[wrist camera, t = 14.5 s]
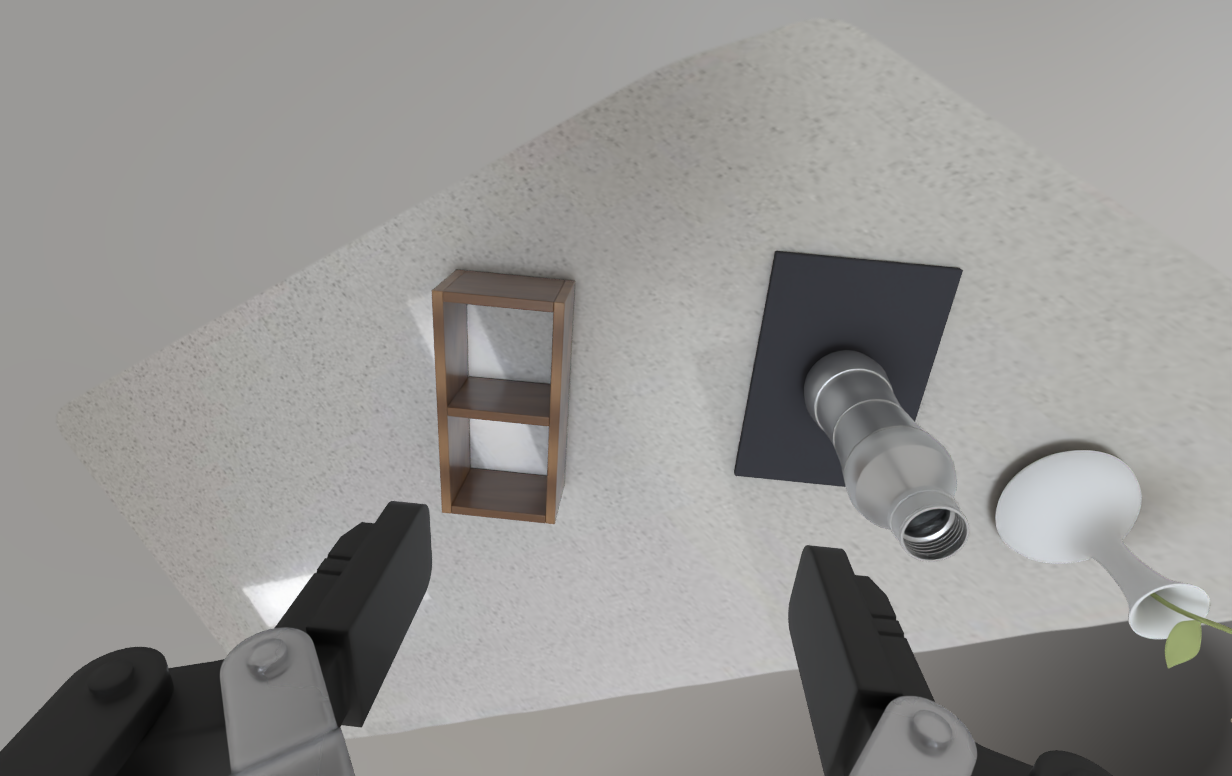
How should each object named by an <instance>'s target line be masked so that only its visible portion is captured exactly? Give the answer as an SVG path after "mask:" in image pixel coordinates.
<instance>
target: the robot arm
mask: <svg viewBox="0 0 1232 776" xmlns="http://www.w3.org/2000/svg"><path fill="white" fill-rule="evenodd" d="M431 570H432V550H431V533H430V515H429V508H428V506H427V505H426V504H417V503H407V502H397V501H391V502H389V503H388V504H387V506H386V507H385V509H384V510H383V512H382V513H381V515H380V516H379V518H378V519H377V521H376V522H375V523H365V522H361V523H360V524H359V525H357V526H356V527H354V528H353V529H351V530H350V531H348V532H347V533H346V534H344V535H343V536H341V537H340V539H339V540H338V541H337V543H336V544H335V545H334V547H333V548H332V550H331V551H330V552H329V554H328V557H327V558H325V559H324V561H323V562H322V563H321V565H320V566H319V568H318V569H317V573H314V574H313V576H312V577H311V579H310V580H309V581H308V583H307V584H306V585H305V587H304V588H303V590H302V591H301V592H300V594H299V595H298V596H297V598H296V599H295V601H294V602H293V603H292V605H291V606H290V607H289V609H288V610H287V612H286V613H285V614H284V616H283V617H282V618H281V620H280V621H279V623H278V624H277V625H276V627H275V628H274V629H269V630H266V631H262V632H260V633H257V634H255V635H253V636H251V637H249V638H247V639H245V640H244V641H242V642H241V643H240V644H238V645H237V646H236V647H235V648H234V649H233V650H232V651H231V652H230V653H229V654H228V655H227V657H226V658H225V659H223V660H218V661H214V662H207V663H200V664H194V665H187V666H181V667H174V668H168V665H167V662H166V660H165V657H164V656H163V654H162V653H160V652H159V651H157V650H155V649H152V648H147V647H131V648H125V649H121V650H117V651H114V652H111V653H108V654H106V655H103V656H101V657H99V658H97V659H95V660H93V661H91V662H90V663H88V664H87V665H85V666H84V667H82V668H81V669H80V670H78V671H77V672H76V673H74V674H73V675H72V676H71V677H70V678H69V679H68V680H67V681H66V682H65V683H64V684H63V685H62V686H61V687H60V689H59V690H58V691H57V692H56V693H55V694H54V695H53V696H52V697H51V698H50V699H49V700H48V701H47V702H46V703H45V705H44V706H43V707H42V708H41V709H40V710H39V711H38V712H37V713H36V714H35V715H34V716H33V717H32V718H31V719H30V721H29V722H28V723H27V724H26V725H25V726H24V727H23V728H22V729H21V730H20V731H19V732H18V733H17V734H16V735H15V737H14V738H13V739H12V740H11V741H10V742H9V743H8V744H7V745H6V746H5V747H4V748H3V749H2V750H1V751H0V776H355V774H354V770H353V767H352V763H351V760H350V757H349V753H348V750H347V746H346V743H345V739H344V736H343V733H342V730H341V728H340V727H341V725H346V726H354V727H362V726H363V724H364V721H365V719H366V717H367V715H368V713H369V711H370V709H371V707H372V705H373V702H374V700H375V698H376V696H377V694H378V692H379V690H380V688H381V686H382V683H383V681H384V679H385V677H386V675H387V673H388V671H389V669H390V667H391V664H392V662H393V660H394V658H395V656H396V654H397V652H398V650H399V648H400V645H401V643H402V641H403V639H404V637H405V635H406V633H407V631H408V629H409V626H410V624H411V622H412V620H413V618H414V616H415V614H416V612H417V610H418V607H419V605H420V603H421V601H422V599H423V597H424V595H425V593H426V590H427V588H428V584H429V581H430V576H431ZM788 621H789V630H790V635H791V639H792V643H793V647H794V651H795V656H796V660H797V664H798V668H799V672H800V676H801V680H802V684H803V688H804V692H805V697H806V701H807V705H808V709H809V713H810V717H811V722H812V726H813V730H814V734H815V738H816V742H817V746H818V751H819V755H820V759H821V763H822V767H823V771H824V775H825V776H1112V775H1111V774H1110V773H1109V772H1107V771H1106V770H1104V769H1103V768H1102V767H1100V766H1099V765H1097V764H1095V763H1093V762H1092V761H1090V760H1088V759H1086V758H1084V757H1082V756H1079V755H1076V754H1073V753H1070V752H1065V751H1057V750H1056V751H1048V752H1045V753H1043V754H1042V755H1040V756H1039V758H1038V759H1037V761H1036V763H1035V764H1034V766H1031V765H1028V764H1026V763H1023V762H1021V761H1018V760H1015V759H1013V758H1010V757H1008V756H1005V755H1003V754H1000V753H998V752H995V751H992V750H990V749H987V748H985V747H983V746H981V745H979V744H977V743H976V742H975V741H974V739H973V737H972V735H971V733H970V732H969V730H968V729H967V727H966V726H965V725H964V724H963V723H962V722H961V721H960V720H959V719H958V718H957V717H956V716H955V715H954V714H953V713H952V712H950V711H949V710H947V709H946V708H944V707H943V706H941V705H939V704H937V703H936V702H935V701H934V699H933V696H932V694H931V692H930V690H929V688H928V685H927V683H926V681H925V679H924V677H923V674H922V672H921V670H920V668H919V665H918V663H917V661H916V659H915V657H914V654H913V652H912V650H911V648H910V646H909V643H908V641H907V639H906V638H904V632H903V630H902V628H901V626H900V624H899V621H896V615H895V613H894V610H893V608H892V606H891V604H890V602H889V599H888V597H887V595H886V594H885V593H884V592H883V591H882V590H881V589H880V588H879V587H878V586H877V585H876V584H875V583H874V582H873V581H872V580H871V579H870V578H869V577H868V576H858V575H855V574H854V572H853V569H852V567H851V564H850V562H849V560H848V557H847V555H846V553H845V551H844V550H843V549H838V548H829V547H819V546H810V545H807V546H805V547H804V549H803V551H802V555H801V559H800V563H799V567H798V570H797V574H796V578H795V582H794V586H793V590H792V594H791V598H790V602H789V612H788Z"/></svg>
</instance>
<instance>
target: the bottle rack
mask: <svg viewBox="0 0 1232 776" xmlns="http://www.w3.org/2000/svg"><path fill="white" fill-rule="evenodd" d="M574 294H575V281H570V280H560V279H550V278H539V277H529V276H518V275H507V274H497V273H486V272H476V271H465V270H455V271H454V272H453V273H452V274H451V275H449V276H448V277H447V278H446V279H445V280H444V281H442V282H441V283H440V284H439V285H438V286H436V287H435V288H434V289H433V290H432V307H433V329H434V350H435V371H436V393H437V414H438V435H439V457H440V478H441V500H442V513H452V514H462V515H471V516H481V517H491V518H500V519H510V520H519V521H529V522H538V523H545V522H546V523H548V524H555V521H556V517H557V513H558V509H559V505H560V501H561V497H562V492H563V488H564V484H565V465H566V446H567V427H568V408H569V389H570V370H571V351H572V332H573V313H574ZM467 304H471V305H482V306H492V307H503V308H513V309H524V310H534V311H544V312H554V314H553V340H552V366H551V385H549V384H539V383H529V382H519V381H509V380H498V379H488V378H478V377H468V346H467ZM469 418H472V419H482V420H492V421H502V422H512V423H521V424H531V425H541V426H549V444H548V470H547V476H542V475H533V474H523V473H513V472H503V471H494V470H484V469H474V468H470V434H469Z"/></svg>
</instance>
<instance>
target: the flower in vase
mask: <svg viewBox="0 0 1232 776" xmlns="http://www.w3.org/2000/svg"><path fill="white" fill-rule="evenodd" d="M1141 501H1142V495H1141V489H1140V486H1139V483H1138V481H1137V478H1136V476H1135V474H1134V473H1133V471H1132V470H1131V469H1130V467H1129V466H1128V465H1127V464H1125V463H1124V462H1123V461H1122V460H1120V459H1118V458H1117V457H1115V456H1112V455H1110V454H1107V453H1103V452H1099V451H1091V450H1074V451H1065V452H1060V453H1056V454H1052V455H1049V456H1046V457H1044V458H1041V459H1039V460H1037V461H1035V462H1033V463H1031V464H1030V465H1028V466H1027V467H1025V468H1024V469H1023V470H1021V471H1020V472H1019V473H1018V474H1016V475H1015V476H1014V477H1013V478H1012V479H1011V481H1010V482H1009V483H1008V484H1007V486H1006V487H1005V489H1004V490H1003V492H1002V494H1001V496H1000V498H999V502H998V505H997V509H996V516H995V519H996V527H997V531H998V533H999V535H1000V537H1001V539H1002V540H1003V541H1004V543H1005V544H1006V545H1007V546H1008V547H1010V548H1011V549H1012V550H1014V551H1015V552H1017V553H1019V554H1021V555H1023V556H1025V557H1027V558H1029V559H1032V560H1034V561H1038V562H1043V563H1055V564H1061V563H1075V562H1081V561H1085V560H1088V559H1091V558H1093V559H1094V560H1096V561H1097V562H1098V563H1099V564H1100V565H1101V566H1102V567H1103V568H1104V569H1106V571H1107V572H1108V573H1109V574H1110V575H1111V576H1112V578H1113V579H1114V580H1115V582H1116V583H1117V584H1118V586H1119V587H1120V588H1121V590H1122V592H1123V594H1124V595H1125V597H1126V599H1127V602H1128V605H1129V614H1128V620H1129V624H1130V626H1131V628H1132V629H1133V630H1134V632H1136V633H1137V634H1139V635H1140V636H1143V637H1146V638H1151V639H1167V642H1166V646H1165V658H1166V663H1167V666H1168V668H1171V667H1172V666H1174V665H1177V664H1180V663H1182V662H1185V661H1187V660H1190V659H1191V658H1193V657H1195V656H1196V655H1197V653H1198V652H1199V649H1200V644H1201V623H1204V624H1207V625H1209V626H1212V627H1215V628H1217V629H1220V630H1223V631H1225V632H1228V633H1230V634H1232V629H1231V628H1229V627H1226V626H1224V625H1221V624H1219V623H1216V622H1213V621H1211V620H1208V619H1205V617H1206V616H1207V614H1208V612H1209V609H1210V599H1209V596H1208V595H1207V593H1206V592H1205V591H1204V590H1203V589H1201V588H1199V587H1197V586H1195V585H1192V584H1188V583H1181V582H1176V581H1173V580H1170V579H1168V578H1166V577H1164V576H1162V575H1161V574H1159V573H1157V572H1156V571H1154V570H1153V569H1151V568H1150V567H1149V566H1147V565H1146V564H1145V563H1143V562H1142V561H1141V560H1140V559H1139V558H1138V557H1137V556H1135V555H1134V554H1133V553H1132V552H1131V551H1130V550H1129V549H1128V548H1127V546H1126V545H1125V544H1124V542H1123V541H1122V540H1123V539H1124V538H1125V537H1126V536H1127V534H1128V533H1129V532H1130V530H1131V529H1132V527H1133V525H1134V524H1135V521H1136V519H1137V517H1138V514H1139V511H1140V508H1141ZM1231 722H1232V719H1231Z"/></svg>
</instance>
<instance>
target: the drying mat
mask: <svg viewBox="0 0 1232 776" xmlns="http://www.w3.org/2000/svg"><path fill="white" fill-rule="evenodd" d="M962 271H963V270H962V269H960V268H952V267H941V266H931V265H920V264H909V263H898V262H888V261H877V260H866V259H855V258H844V257H834V256H823V255H812V254H801V253H791V252H780V251H775V256H774V261H773V267H772V272H771V277H770V283H769V288H768V293H767V299H766V304H765V309H764V315H763V320H762V326H761V331H760V336H759V342H758V347H757V352H756V358H755V363H754V368H753V374H752V379H751V384H750V390H749V395H748V400H747V406H746V411H745V416H744V422H743V427H742V433H741V438H740V443H739V449H738V454H737V459H736V465H735V470H734V474H735V476H744V477H754V478H764V479H774V480H784V481H793V482H803V483H813V484H823V485H833V486H843V487H846V486H845V481H844V476H843V472H842V467H841V463H840V460H839V458H838V455H837V453H836V449H835V447H834V445H833V443H832V442H831V440H830V439H829V437H828V436H827V434H826V433H825V431H823V430H822V429H821V428H820V427H819V426H818V424H817V423H816V422H815V421H814V420H813V418H812V417H811V416H810V414H809V412H808V410H807V408H806V404H805V398H804V384H805V379H806V377H807V374H808V372H809V371H810V369H811V368H812V366H813V365H814V364H815V363H816V362H817V361H819V360H820V359H821V358H823V357H824V356H826V355H828V354H830V353H833V352H837V351H843V350H850V351H856V352H860V353H862V354H864V355H866V356H868V357H870V358H871V359H873V360H874V361H876V362H877V363H878V364H879V365H880V366H881V367H882V368H883V370H884V371H885V373H886V375H887V377H888V379H889V381H890V384H891V386H892V390H893V393H894V395H895V397H896V399H897V400H898V402H899V404H900V406H901V407H902V408H903V409H904V411H905V412H906V413H907V414H908V415H909V416H910V417H911V418H912V419H913V420H914V422H915V419H916V416H917V413H918V410H919V407H920V404H921V400H922V397H923V394H924V391H925V388H926V385H927V382H928V378H929V375H930V372H931V369H932V366H933V363H934V360H935V356H936V353H937V350H938V347H939V344H940V341H941V337H942V334H943V331H944V328H945V325H946V322H947V319H948V315H949V312H950V309H951V306H952V303H953V300H954V297H955V293H956V290H957V287H958V284H959V281H960V278H961V275H962Z"/></svg>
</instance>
